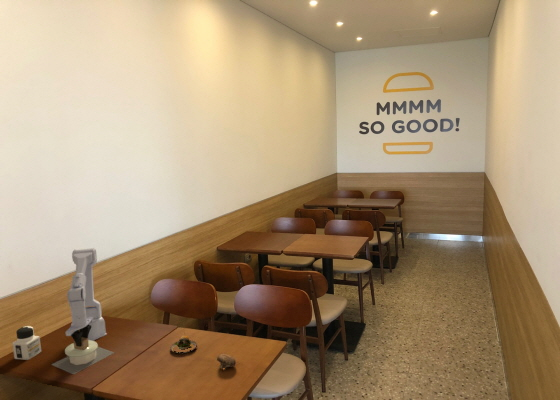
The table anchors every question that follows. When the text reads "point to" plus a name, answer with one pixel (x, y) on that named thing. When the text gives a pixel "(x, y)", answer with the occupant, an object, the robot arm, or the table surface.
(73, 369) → the mat
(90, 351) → the lid
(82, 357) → the bowl
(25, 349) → the container
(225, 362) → the mushroom
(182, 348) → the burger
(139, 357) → the table surface
